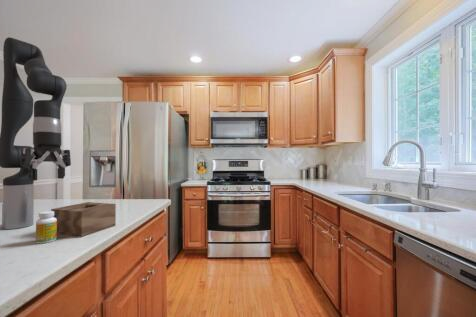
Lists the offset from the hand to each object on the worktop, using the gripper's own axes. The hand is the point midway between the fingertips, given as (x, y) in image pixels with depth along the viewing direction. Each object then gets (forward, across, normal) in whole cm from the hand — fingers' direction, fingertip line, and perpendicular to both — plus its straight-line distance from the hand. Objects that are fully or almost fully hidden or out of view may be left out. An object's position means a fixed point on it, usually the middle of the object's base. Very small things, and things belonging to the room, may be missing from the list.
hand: (47, 179), depth 79 cm
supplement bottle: (+21, 0, 0) cm, 21 cm away
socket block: (+21, -14, 0) cm, 25 cm away
